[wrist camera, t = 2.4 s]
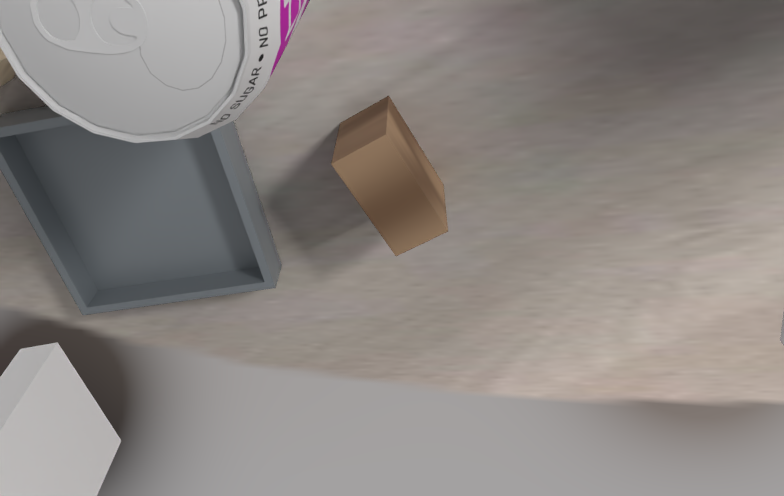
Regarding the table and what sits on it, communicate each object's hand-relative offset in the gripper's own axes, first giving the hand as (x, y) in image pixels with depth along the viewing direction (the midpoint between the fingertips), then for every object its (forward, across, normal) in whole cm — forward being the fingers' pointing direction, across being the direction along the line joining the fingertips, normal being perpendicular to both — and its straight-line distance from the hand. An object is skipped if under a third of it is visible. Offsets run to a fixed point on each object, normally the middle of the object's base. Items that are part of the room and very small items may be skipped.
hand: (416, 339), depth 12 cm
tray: (+24, -16, -7) cm, 30 cm away
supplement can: (+24, -7, +5) cm, 25 cm away
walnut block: (+24, -2, -7) cm, 25 cm away
